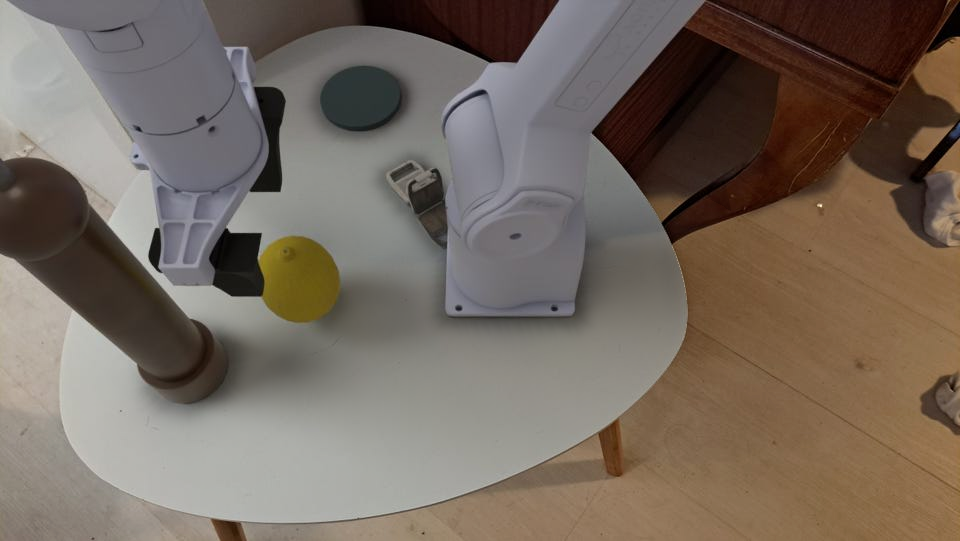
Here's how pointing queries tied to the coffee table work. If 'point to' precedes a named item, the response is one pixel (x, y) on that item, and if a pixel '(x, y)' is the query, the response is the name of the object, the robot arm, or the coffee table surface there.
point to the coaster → (360, 98)
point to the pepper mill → (103, 279)
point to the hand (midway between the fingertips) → (257, 237)
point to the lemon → (299, 279)
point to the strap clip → (422, 197)
